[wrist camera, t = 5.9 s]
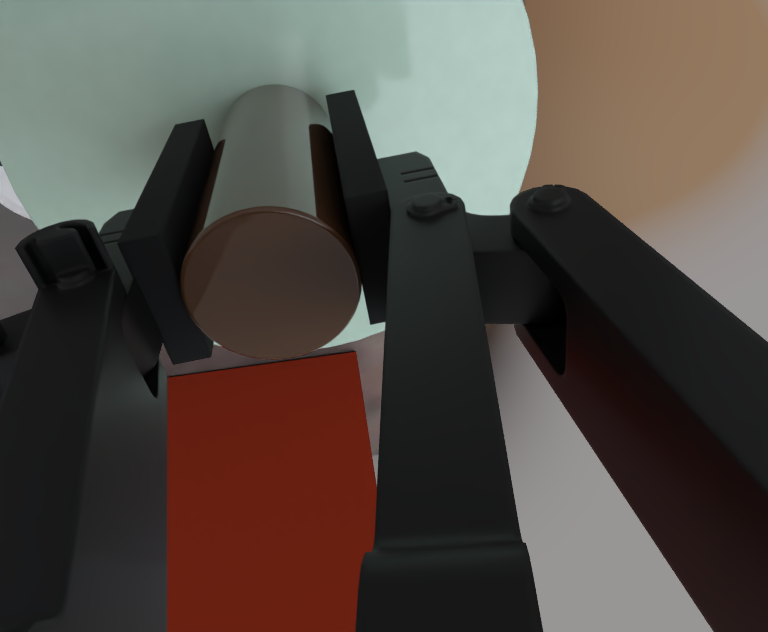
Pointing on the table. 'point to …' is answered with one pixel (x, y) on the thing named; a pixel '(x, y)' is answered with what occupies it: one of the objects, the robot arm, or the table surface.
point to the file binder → (268, 497)
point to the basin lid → (262, 133)
